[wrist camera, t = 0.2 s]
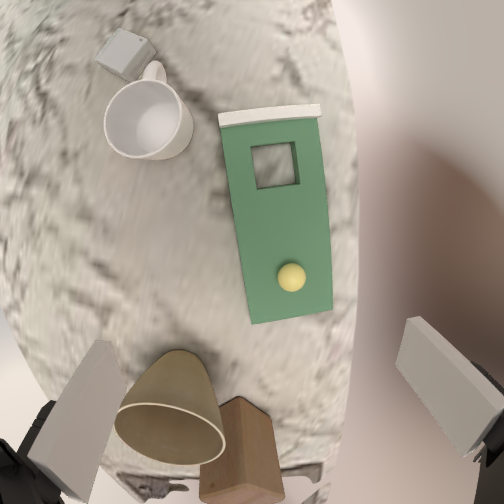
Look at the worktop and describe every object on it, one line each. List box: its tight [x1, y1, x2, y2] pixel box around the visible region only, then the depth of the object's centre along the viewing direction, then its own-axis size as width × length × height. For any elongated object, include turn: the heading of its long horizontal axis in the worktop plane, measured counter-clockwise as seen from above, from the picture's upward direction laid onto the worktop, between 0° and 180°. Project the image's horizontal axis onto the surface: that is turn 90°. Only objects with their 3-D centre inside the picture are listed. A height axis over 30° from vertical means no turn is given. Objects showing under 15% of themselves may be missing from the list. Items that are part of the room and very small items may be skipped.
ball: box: [278, 263, 306, 292], centre depth 36 cm, size 4×4×4 cm
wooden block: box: [199, 397, 285, 504], centre depth 39 cm, size 10×10×20 cm
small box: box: [94, 28, 157, 82], centre depth 27 cm, size 6×6×5 cm
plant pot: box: [113, 350, 226, 466], centre depth 36 cm, size 15×15×16 cm
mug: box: [103, 61, 194, 160], centre depth 28 cm, size 12×8×10 cm
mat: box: [218, 104, 333, 325], centre depth 36 cm, size 28×12×4 cm, turn 8°
